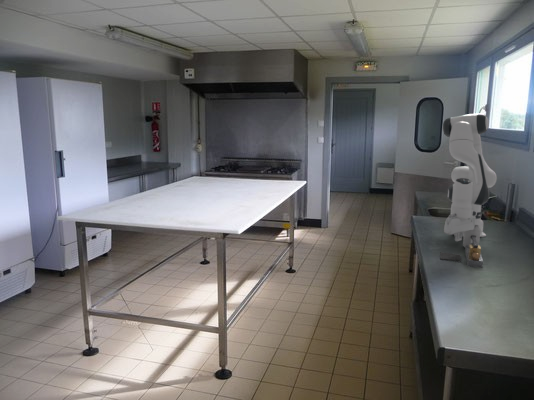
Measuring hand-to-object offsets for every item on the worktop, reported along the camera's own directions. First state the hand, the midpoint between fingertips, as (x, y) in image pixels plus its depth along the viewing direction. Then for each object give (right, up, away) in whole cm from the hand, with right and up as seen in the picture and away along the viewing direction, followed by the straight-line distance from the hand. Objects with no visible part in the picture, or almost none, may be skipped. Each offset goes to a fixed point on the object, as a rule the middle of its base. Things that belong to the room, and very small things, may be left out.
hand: (458, 240), depth 202 cm
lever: (+6, -1, -3) cm, 7 cm away
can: (+13, -5, +14) cm, 20 cm away
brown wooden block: (+4, -6, -7) cm, 10 cm away
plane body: (+5, -8, -4) cm, 11 cm away
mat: (-5, -8, -2) cm, 9 cm away
